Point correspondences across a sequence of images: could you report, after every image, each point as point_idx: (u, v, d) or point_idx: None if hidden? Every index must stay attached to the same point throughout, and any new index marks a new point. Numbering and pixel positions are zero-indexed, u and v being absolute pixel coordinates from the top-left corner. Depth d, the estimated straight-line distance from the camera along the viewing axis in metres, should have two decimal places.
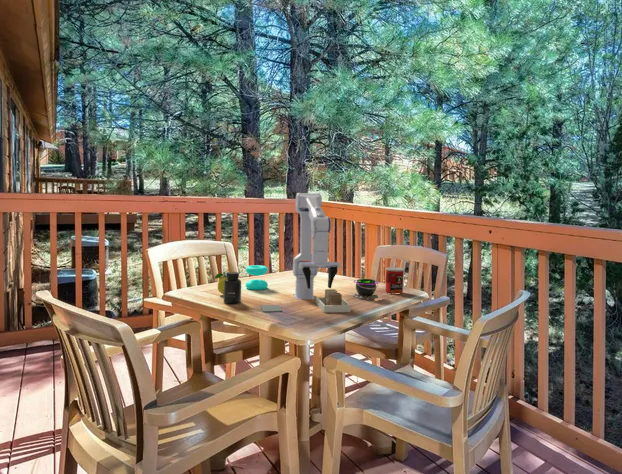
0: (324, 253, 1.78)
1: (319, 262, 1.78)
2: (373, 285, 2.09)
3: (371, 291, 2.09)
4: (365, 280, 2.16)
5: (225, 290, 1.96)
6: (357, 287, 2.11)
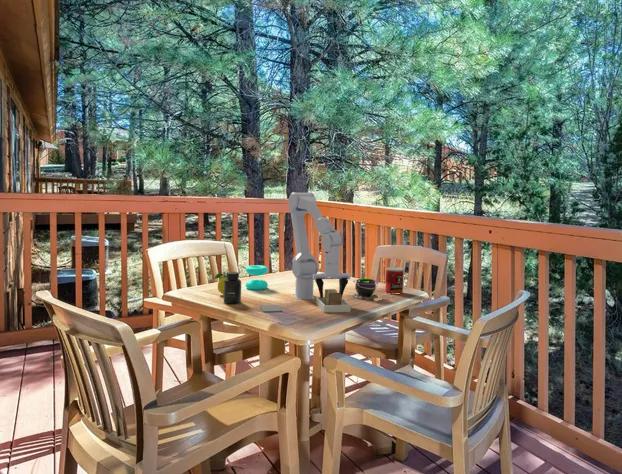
0: (336, 265, 1.92)
1: (331, 274, 1.92)
2: (373, 285, 2.10)
3: (371, 291, 2.09)
4: (365, 280, 2.16)
5: (225, 290, 1.96)
6: (357, 287, 2.11)
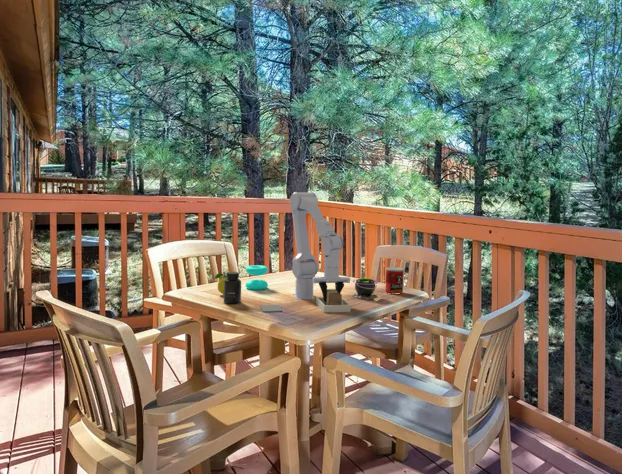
0: (335, 269, 1.92)
1: (331, 277, 1.92)
2: (372, 285, 2.10)
3: (370, 291, 2.09)
4: (364, 280, 2.16)
5: (225, 290, 1.96)
6: (356, 287, 2.11)
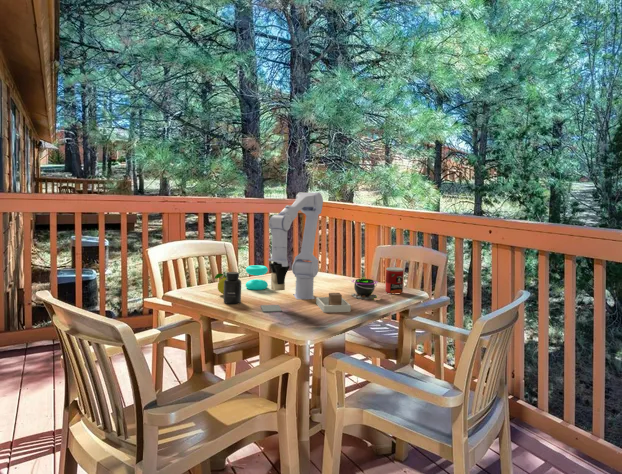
0: (273, 249, 1.87)
1: (271, 257, 1.89)
2: (372, 285, 2.10)
3: (370, 291, 2.10)
4: (364, 280, 2.16)
5: (225, 290, 1.96)
6: (356, 287, 2.11)
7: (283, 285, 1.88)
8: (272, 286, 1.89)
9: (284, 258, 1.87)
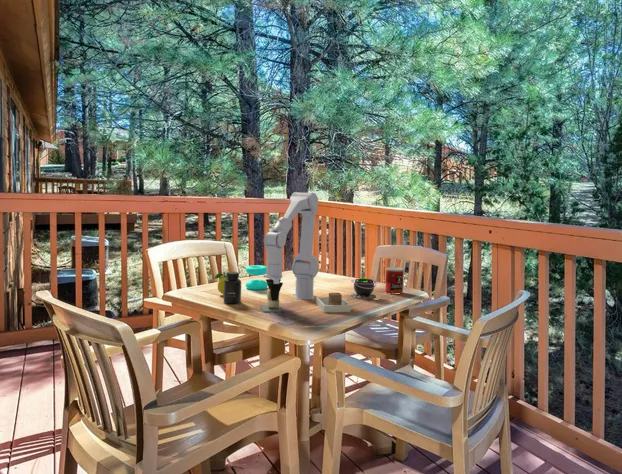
0: (267, 265, 1.87)
1: None
2: (371, 285, 2.10)
3: (369, 291, 2.10)
4: (363, 280, 2.17)
5: (225, 290, 1.96)
6: (355, 287, 2.11)
7: (277, 302, 1.88)
8: (267, 302, 1.90)
9: (278, 275, 1.87)
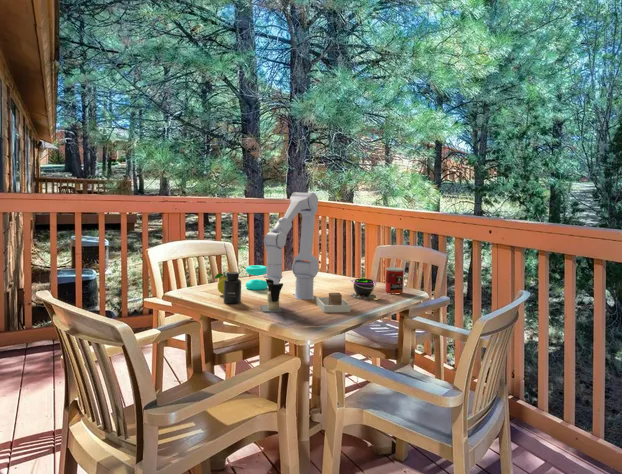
0: (267, 266, 1.87)
1: None
2: (371, 285, 2.10)
3: (369, 291, 2.10)
4: (363, 280, 2.17)
5: (225, 290, 1.96)
6: (355, 287, 2.11)
7: (277, 304, 1.88)
8: (267, 304, 1.90)
9: (278, 275, 1.87)
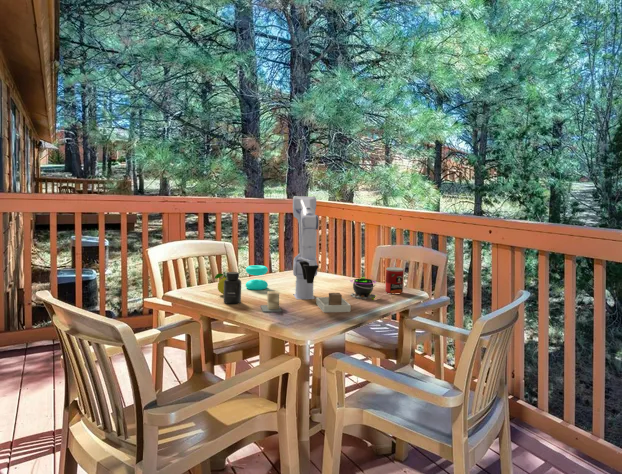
0: (302, 248, 1.92)
1: (301, 256, 1.94)
2: (370, 285, 2.10)
3: (368, 291, 2.10)
4: (362, 280, 2.17)
5: (225, 290, 1.96)
6: (354, 287, 2.11)
7: (277, 304, 1.88)
8: (267, 304, 1.90)
9: (313, 257, 1.92)
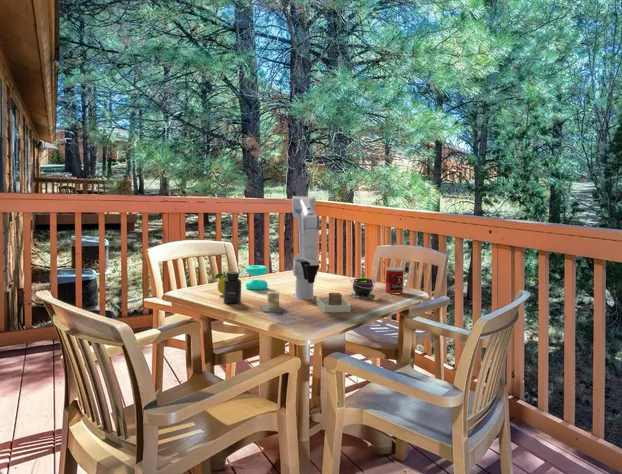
0: (303, 248, 1.92)
1: (302, 256, 1.94)
2: (370, 284, 2.10)
3: (368, 290, 2.10)
4: (362, 280, 2.17)
5: (225, 290, 1.96)
6: (354, 287, 2.12)
7: (277, 304, 1.88)
8: (267, 304, 1.90)
9: (314, 257, 1.92)
